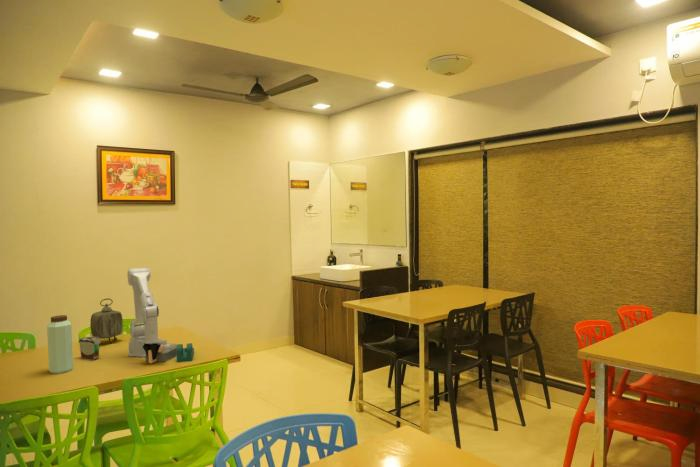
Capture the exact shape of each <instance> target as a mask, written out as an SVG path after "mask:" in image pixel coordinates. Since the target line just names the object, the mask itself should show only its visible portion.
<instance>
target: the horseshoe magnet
mask: <svg viewBox="0 0 700 467" xmlns="http://www.w3.org/2000/svg"><path fill="white" fill-rule="evenodd" d="M177 344H178V343H168V342H167V344H165V345H164V350H163V351H161V352H158V353H157V361H156V362H158V363H166V362H168V361H169V360H172V359H174V358H175V357H177ZM145 362H149V360H148V357H147V354H146V356H145Z"/></svg>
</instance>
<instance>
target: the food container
mask: <svg viewBox="0 0 700 467" xmlns="http://www.w3.org/2000/svg"><path fill="white" fill-rule="evenodd" d="M101 342H102V341H101V339H100V338H99V337H93V336H84V337H81V338H78V343H79V352H80V359H82V360H88V361H96V360H98V359H99V356H100V343H101Z"/></svg>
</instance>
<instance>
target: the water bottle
mask: <svg viewBox="0 0 700 467" xmlns="http://www.w3.org/2000/svg"><path fill="white" fill-rule="evenodd" d="M72 327H73V326H72V323H71V321H69V320H68V316H67V314H66V315H65V314H63V315H62V314H61V315H54V316H51V317H50V321H49V323H47V325H46V330H47V332H46V334H47V353H48V355H47V356H48V370H49V373H51V374H53V375H54V374H55V375H56V374H63V373H68V372H70V371H72V370H73V369H74V354H73V353H74V352H73V335H72V334H73V330H72V329H73V328H72Z"/></svg>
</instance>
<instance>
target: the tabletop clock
mask: <svg viewBox="0 0 700 467" xmlns="http://www.w3.org/2000/svg"><path fill="white" fill-rule="evenodd" d="M107 300H109V301H111V303H109V304H108V303H105V304H102V303H103V301H107ZM113 303H114V302H113V299H111V298H109V297H108V298H104V299H102V300H100V303H99V305H100V306H101V307H103V308H102V309H101V310H100V311H95V312H93V313H92V314H91V317H90V322H89V323H90V325H89V326H90V332H91V337H99V338H100V340H101V339H103V340H105V339H108V344H112V343H113V340H114V341H117V336H119V335H121V334H122V332H123V328H124V327H123V326H124V322H123V321H124V319H123V314H122V312H121V311H119V310H118V311H117V310H114V309H113V308H112V307H111V305H112V304H113ZM111 338H113V340H111Z"/></svg>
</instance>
